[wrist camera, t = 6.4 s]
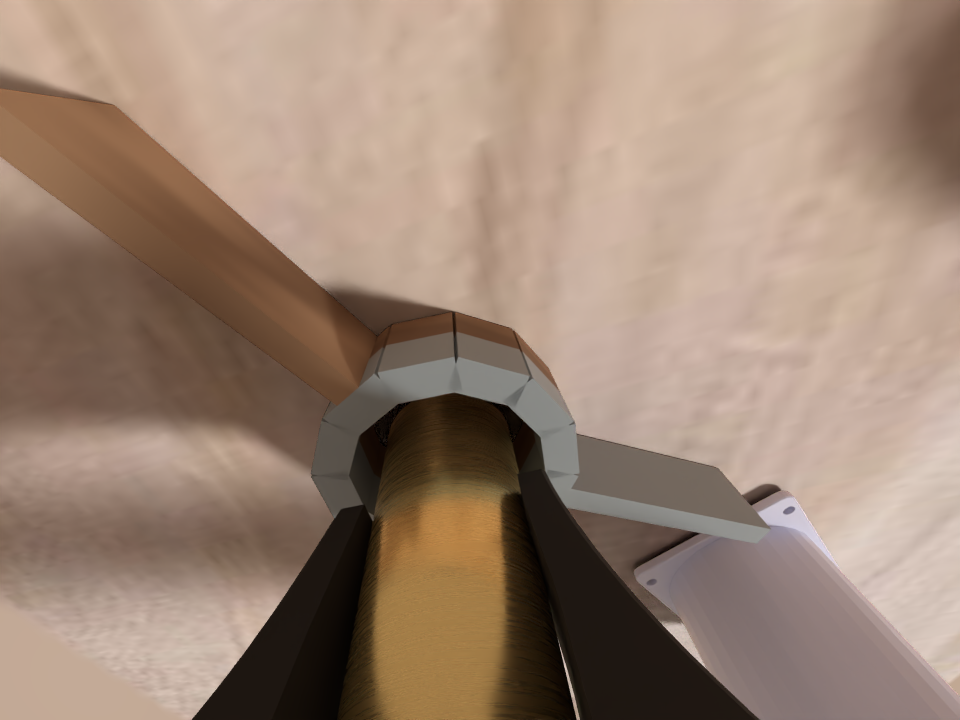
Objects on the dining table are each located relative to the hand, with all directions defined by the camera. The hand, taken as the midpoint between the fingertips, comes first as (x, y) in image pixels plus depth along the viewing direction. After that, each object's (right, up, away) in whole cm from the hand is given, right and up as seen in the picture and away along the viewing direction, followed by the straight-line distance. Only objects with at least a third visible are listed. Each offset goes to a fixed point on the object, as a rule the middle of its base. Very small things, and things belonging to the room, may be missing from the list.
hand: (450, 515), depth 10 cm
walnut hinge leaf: (-3, +5, +2) cm, 6 cm away
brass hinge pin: (0, +1, +3) cm, 3 cm away
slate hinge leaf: (+3, +1, +5) cm, 6 cm away
